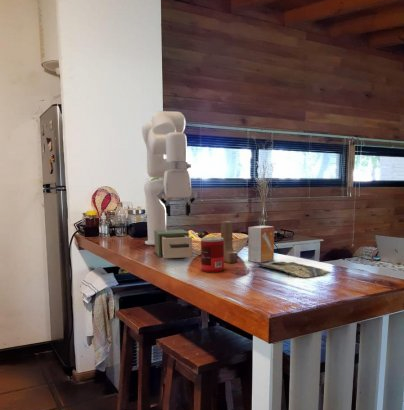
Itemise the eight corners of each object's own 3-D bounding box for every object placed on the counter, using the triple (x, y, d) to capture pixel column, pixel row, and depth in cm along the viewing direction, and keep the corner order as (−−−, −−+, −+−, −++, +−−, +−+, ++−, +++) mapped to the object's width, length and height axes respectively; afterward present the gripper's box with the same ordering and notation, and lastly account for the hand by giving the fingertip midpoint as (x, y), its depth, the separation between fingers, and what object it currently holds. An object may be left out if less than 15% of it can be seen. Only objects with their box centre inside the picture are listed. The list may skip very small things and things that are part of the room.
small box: (261, 263, 155) (261, 227, 153) (247, 261, 159) (247, 226, 157) (274, 260, 160) (274, 226, 158) (261, 258, 165) (261, 225, 163)
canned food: (226, 268, 146) (226, 236, 144) (221, 273, 138) (220, 239, 137) (205, 267, 148) (204, 236, 146) (198, 272, 140) (198, 239, 139)
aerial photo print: (341, 271, 138) (341, 266, 137) (303, 279, 126) (304, 274, 126) (283, 261, 157) (283, 257, 157) (246, 267, 146) (246, 263, 146)
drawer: (195, 259, 160) (194, 239, 159) (165, 261, 157) (164, 240, 156) (185, 251, 178) (185, 233, 177) (159, 253, 176) (158, 234, 175)
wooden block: (221, 260, 161) (220, 221, 159) (228, 259, 163) (227, 221, 160) (230, 263, 155) (230, 222, 153) (237, 262, 157) (237, 222, 154)
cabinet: (189, 255, 174) (188, 232, 173) (159, 257, 172) (158, 233, 170) (183, 250, 188) (182, 229, 187) (155, 251, 186) (154, 230, 184)
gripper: (197, 167, 161) (198, 214, 164) (152, 168, 157) (154, 215, 160) (201, 166, 154) (202, 215, 157) (154, 167, 150) (156, 217, 153)
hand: (178, 215), depth 158 cm, fingers open, 6 cm apart
